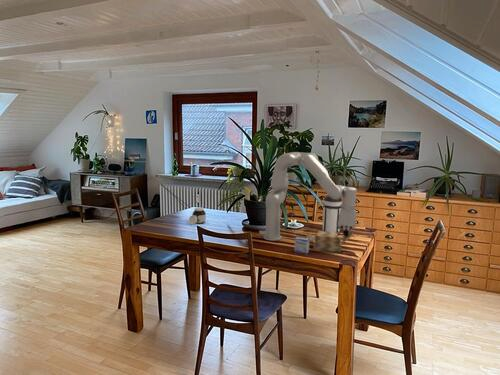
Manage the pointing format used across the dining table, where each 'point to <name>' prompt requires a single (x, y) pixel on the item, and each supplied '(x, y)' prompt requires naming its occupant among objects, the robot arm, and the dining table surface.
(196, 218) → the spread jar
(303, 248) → the medicine box
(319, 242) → the carton
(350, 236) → the flap
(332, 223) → the coffee press
